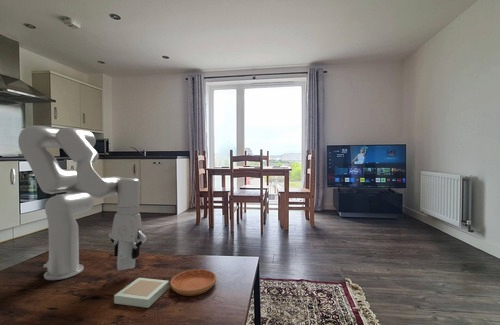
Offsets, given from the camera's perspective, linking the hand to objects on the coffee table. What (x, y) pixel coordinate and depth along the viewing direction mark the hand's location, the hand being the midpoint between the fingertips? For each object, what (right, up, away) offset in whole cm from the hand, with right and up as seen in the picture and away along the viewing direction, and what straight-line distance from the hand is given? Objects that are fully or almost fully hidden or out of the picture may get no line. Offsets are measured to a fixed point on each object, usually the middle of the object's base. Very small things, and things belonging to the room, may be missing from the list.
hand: (126, 256), depth 95 cm
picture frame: (+12, -8, -13) cm, 19 cm away
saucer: (+27, -9, -7) cm, 29 cm away
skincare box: (0, -5, 0) cm, 5 cm away
